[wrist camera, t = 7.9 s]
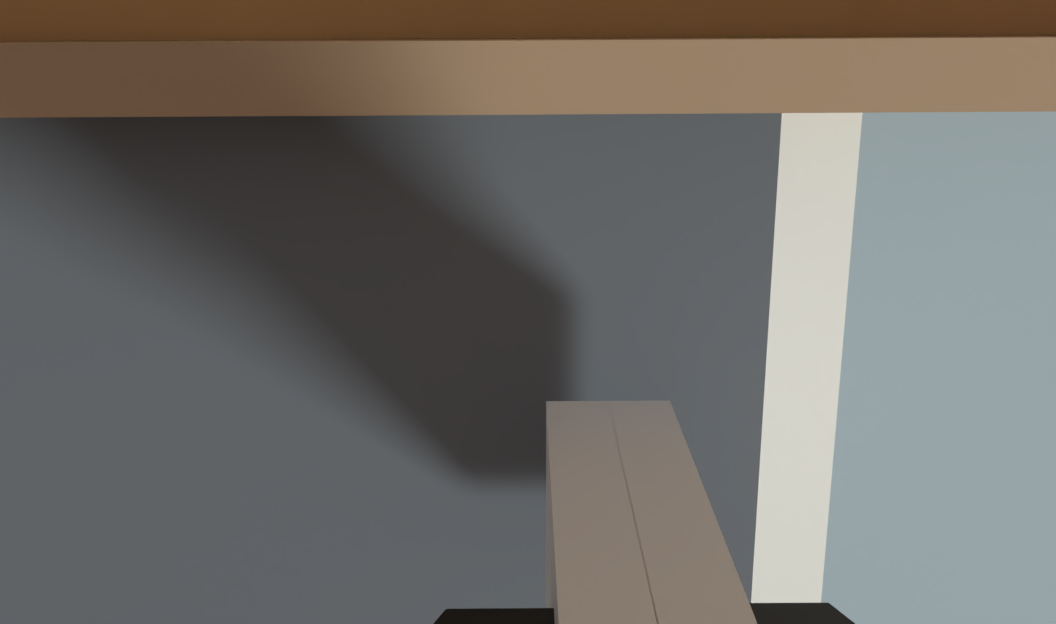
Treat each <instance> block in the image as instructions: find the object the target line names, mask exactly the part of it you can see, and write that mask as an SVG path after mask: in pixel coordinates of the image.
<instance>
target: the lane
mask: <svg viewBox="0 0 1056 624" xmlns="http://www.w3.org/2000/svg"><path fill="white" fill-rule="evenodd" d="M546 401H670V402H671V405H672V407H673V410H674V412H675V415H676V417H677V420H678V423H679V425H680V428H681V430H682V433H683V435H684V438H685V440H686V443H687V445H688V448H689V451H690V453H691V456H692V458H693V461H694V463H695V466H696V468H697V471H698V473H699V476H700V479H701V481H702V484H703V486H704V489H705V491H706V494H707V496H708V499H709V502H710V504H711V507H712V509H713V512H714V514H715V517H716V519H717V522H718V524H719V527H720V530H721V532H722V535H723V537H724V540H725V542H726V545H727V547H728V550H729V552H730V555H731V558H732V560H733V563H734V565H735V568H736V570H737V573H738V575H739V578H740V581H741V583H742V586H743V588H744V591H745V593H746V596H747V598H748V601H749V603H830V604H831V605H832V606H834V607H835V608H836V609H837V610H839V611H840V612H841V613H842V614H844V615H845V616H846V617H847V618H849V619H850V620H851V621H852V622H854V623H855V624H1056V36H954V37H784V38H613V39H442V40H272V41H101V42H0V624H434V622H435V621H436V620H437V619H438V618H439V616H440V615H441V614H442V613H443V612H444V611H445V609H477V608H546Z"/></svg>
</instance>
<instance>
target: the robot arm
mask: <svg viewBox="0 0 1056 624" xmlns="http://www.w3.org/2000/svg"><path fill="white" fill-rule="evenodd" d="M434 624H855V623H854V622H852V621H851V620H850V619H849V618H847V617H846V616H845V615H844V614H842V613H841V612H840V611H839V610H837V609H836V608H835V607H834V606H832V605H831V604H830V603H749V601H748V598H747V596H746V593H745V591H744V588H743V586H742V583H741V581H740V578H739V575H738V573H737V570H736V568H735V565H734V563H733V560H732V558H731V555H730V552H729V550H728V547H727V545H726V542H725V540H724V537H723V535H722V532H721V530H720V527H719V524H718V522H717V519H716V517H715V514H714V512H713V509H712V507H711V504H710V502H709V499H708V496H707V494H706V491H705V489H704V486H703V484H702V481H701V479H700V476H699V473H698V471H697V468H696V466H695V463H694V461H693V458H692V456H691V453H690V451H689V448H688V445H687V443H686V440H685V438H684V435H683V433H682V430H681V428H680V425H679V423H678V420H677V417H676V415H675V412H674V410H673V407H672V405H671V402H670V401H546V608H477V609H445V611H444V612H443V613H442V614H441V615H440V616H439V618H438V619H437V620H436V621H435V622H434Z"/></svg>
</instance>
